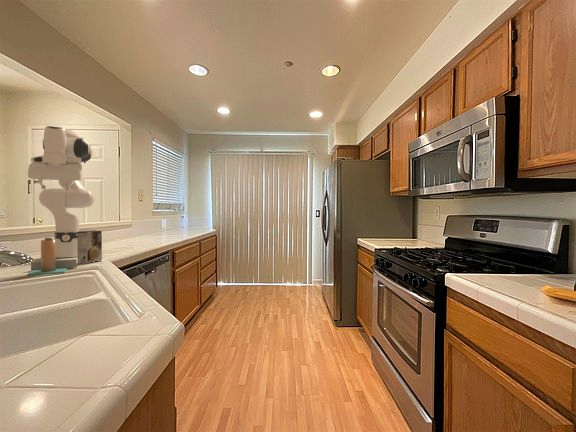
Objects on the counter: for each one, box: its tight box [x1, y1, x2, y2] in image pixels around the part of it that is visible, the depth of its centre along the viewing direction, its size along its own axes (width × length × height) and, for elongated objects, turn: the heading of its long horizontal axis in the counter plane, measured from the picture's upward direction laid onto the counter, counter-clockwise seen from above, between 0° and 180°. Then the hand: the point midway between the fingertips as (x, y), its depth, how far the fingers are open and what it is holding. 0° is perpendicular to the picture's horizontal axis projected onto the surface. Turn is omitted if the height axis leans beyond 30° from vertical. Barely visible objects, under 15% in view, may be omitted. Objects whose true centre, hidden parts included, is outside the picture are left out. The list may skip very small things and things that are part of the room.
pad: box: [27, 268, 68, 276], centre depth 129 cm, size 9×12×1 cm
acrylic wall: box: [30, 258, 77, 272], centre depth 135 cm, size 1×16×4 cm, turn 119°
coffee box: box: [76, 229, 103, 264], centre depth 155 cm, size 9×6×16 cm
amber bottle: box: [40, 237, 57, 272], centre depth 129 cm, size 5×5×14 cm
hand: (56, 189), depth 145 cm, fingers open, 8 cm apart
